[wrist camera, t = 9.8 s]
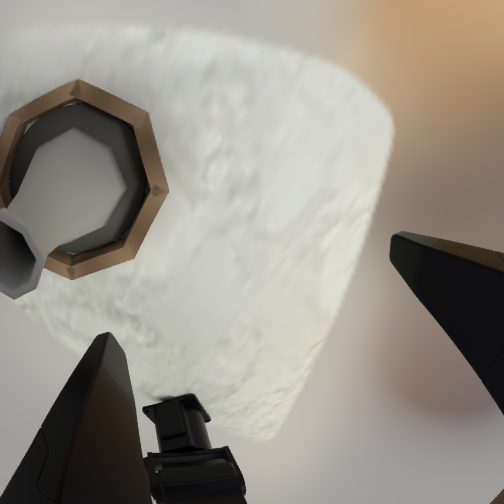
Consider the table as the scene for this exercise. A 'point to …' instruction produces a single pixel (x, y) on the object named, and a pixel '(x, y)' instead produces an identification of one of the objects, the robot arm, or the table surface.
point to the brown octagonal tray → (126, 153)
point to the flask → (56, 205)
